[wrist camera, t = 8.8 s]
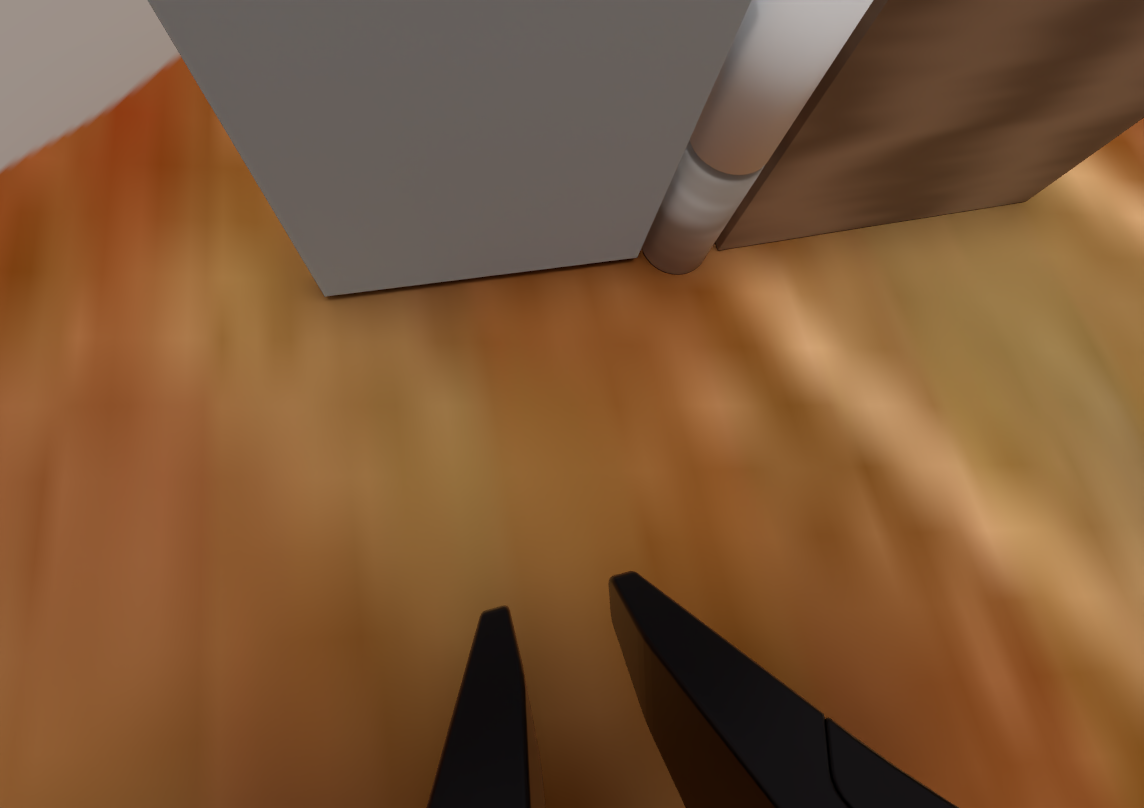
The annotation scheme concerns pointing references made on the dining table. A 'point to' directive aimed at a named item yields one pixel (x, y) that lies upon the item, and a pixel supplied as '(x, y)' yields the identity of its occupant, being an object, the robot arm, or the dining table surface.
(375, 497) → the dining table surface
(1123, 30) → the walnut leaf
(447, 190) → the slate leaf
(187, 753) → the dining table surface
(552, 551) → the dining table surface
